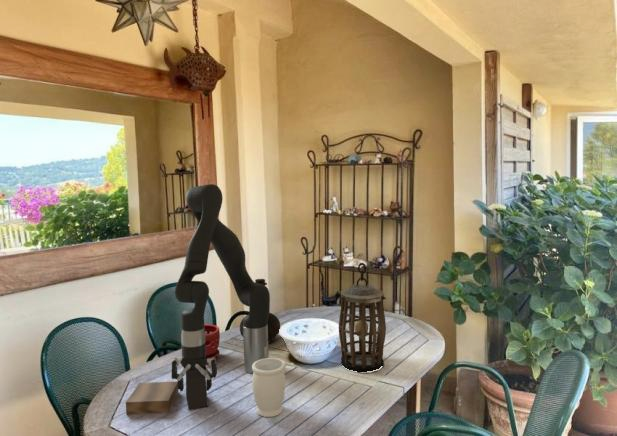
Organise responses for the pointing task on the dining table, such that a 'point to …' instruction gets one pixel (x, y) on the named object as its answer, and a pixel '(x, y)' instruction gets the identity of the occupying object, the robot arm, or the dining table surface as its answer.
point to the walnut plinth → (152, 398)
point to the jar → (268, 386)
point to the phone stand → (196, 389)
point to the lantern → (362, 326)
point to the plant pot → (212, 341)
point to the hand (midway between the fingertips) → (195, 389)
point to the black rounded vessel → (272, 320)
